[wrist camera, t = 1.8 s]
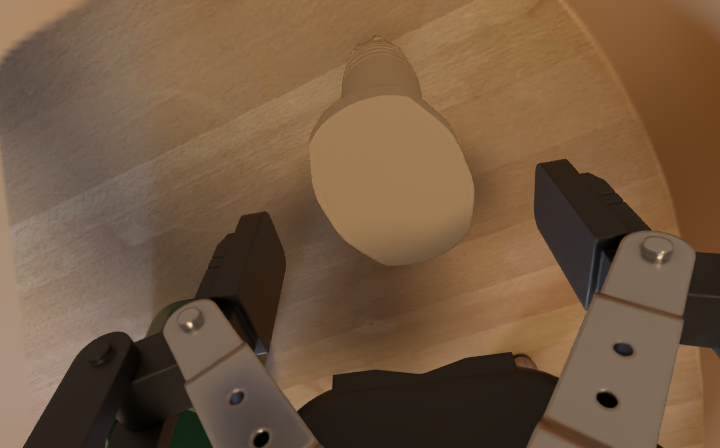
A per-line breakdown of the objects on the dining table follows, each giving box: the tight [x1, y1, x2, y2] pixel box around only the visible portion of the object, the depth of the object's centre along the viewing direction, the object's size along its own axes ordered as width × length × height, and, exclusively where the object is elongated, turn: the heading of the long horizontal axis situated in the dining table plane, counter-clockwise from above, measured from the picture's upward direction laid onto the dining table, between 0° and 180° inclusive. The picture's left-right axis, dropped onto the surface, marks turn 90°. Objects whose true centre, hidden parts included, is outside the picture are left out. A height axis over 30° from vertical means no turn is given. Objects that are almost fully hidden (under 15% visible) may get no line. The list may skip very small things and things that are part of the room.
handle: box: [309, 36, 474, 266], centre depth 20 cm, size 5×6×15 cm
